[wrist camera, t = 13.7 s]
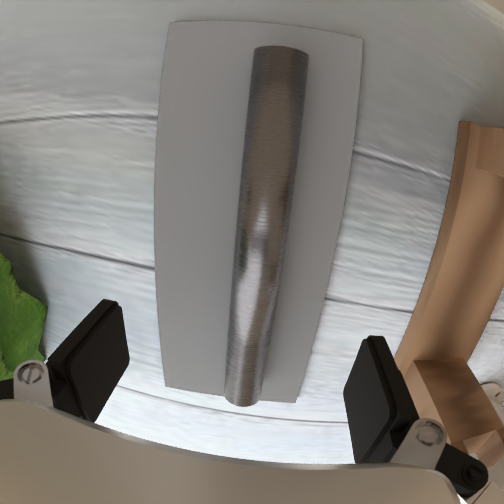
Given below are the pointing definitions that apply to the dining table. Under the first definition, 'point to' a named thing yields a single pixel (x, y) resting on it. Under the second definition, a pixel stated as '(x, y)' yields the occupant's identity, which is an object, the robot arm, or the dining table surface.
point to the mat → (227, 195)
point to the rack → (461, 299)
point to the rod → (263, 214)
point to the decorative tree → (18, 323)
